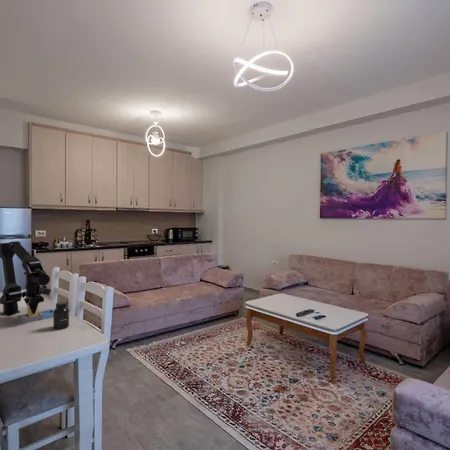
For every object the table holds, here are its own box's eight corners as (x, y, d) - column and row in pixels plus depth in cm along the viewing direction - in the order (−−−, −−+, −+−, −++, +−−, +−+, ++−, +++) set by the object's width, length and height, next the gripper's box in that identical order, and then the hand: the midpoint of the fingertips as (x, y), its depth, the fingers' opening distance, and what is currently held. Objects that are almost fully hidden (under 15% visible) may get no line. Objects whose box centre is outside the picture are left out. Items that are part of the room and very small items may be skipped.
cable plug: (29, 321, 161) (29, 303, 161) (27, 319, 164) (27, 302, 163) (38, 319, 164) (38, 302, 163) (36, 317, 166) (36, 300, 166)
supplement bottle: (62, 330, 148) (62, 305, 148) (50, 329, 150) (49, 304, 149) (72, 325, 155) (72, 301, 155) (60, 324, 156) (60, 300, 156)
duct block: (20, 324, 156) (20, 319, 156) (17, 320, 162) (17, 315, 162) (62, 315, 170) (62, 310, 170) (57, 312, 176) (57, 307, 175)
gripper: (54, 283, 162) (55, 313, 163) (44, 278, 175) (44, 306, 176) (30, 287, 154) (30, 318, 155) (21, 281, 168) (21, 310, 168)
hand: (32, 312), depth 163 cm, fingers closed on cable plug, 4 cm apart
